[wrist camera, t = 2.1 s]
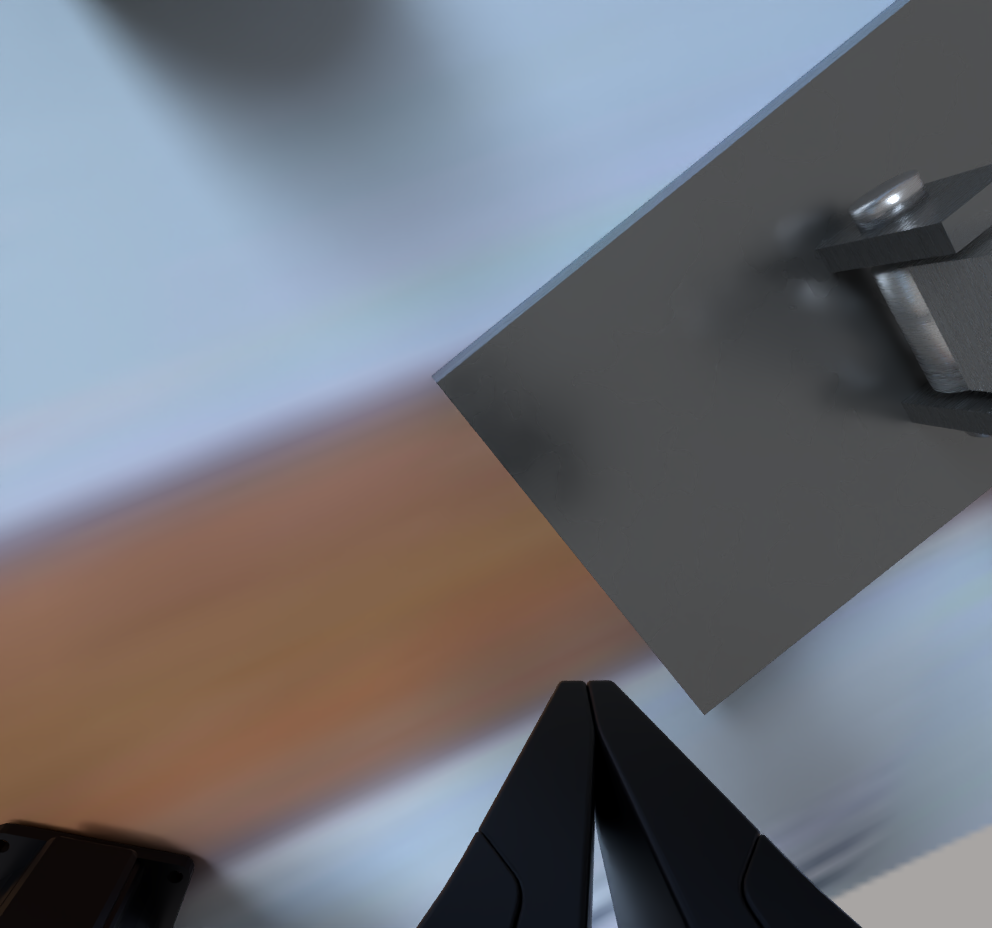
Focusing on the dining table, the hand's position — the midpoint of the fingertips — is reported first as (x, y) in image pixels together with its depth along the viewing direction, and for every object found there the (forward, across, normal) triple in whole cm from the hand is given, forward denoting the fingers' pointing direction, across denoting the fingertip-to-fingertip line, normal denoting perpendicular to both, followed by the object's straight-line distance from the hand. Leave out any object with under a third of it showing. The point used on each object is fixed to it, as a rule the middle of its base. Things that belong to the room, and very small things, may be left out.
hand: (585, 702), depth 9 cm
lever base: (+14, +10, +3) cm, 17 cm away
